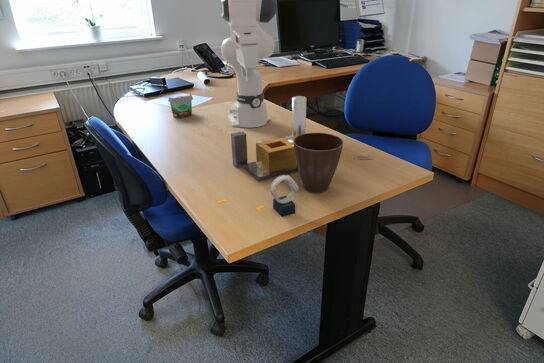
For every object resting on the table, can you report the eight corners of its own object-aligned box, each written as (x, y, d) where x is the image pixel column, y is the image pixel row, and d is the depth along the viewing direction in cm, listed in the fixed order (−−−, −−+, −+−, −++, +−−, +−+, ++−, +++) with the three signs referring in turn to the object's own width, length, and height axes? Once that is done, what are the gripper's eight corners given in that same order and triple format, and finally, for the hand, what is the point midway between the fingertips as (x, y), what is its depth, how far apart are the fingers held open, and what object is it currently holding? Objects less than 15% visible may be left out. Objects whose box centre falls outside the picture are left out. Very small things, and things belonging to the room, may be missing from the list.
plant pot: (317, 173, 135) (319, 129, 127) (349, 189, 124) (353, 142, 117) (283, 185, 127) (283, 139, 120) (314, 204, 116) (316, 154, 109)
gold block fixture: (238, 163, 143) (234, 98, 132) (295, 150, 153) (296, 89, 142) (259, 181, 130) (256, 111, 119) (320, 165, 140) (323, 99, 129)
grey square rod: (232, 164, 142) (230, 133, 136) (244, 162, 144) (242, 131, 138) (236, 168, 139) (234, 136, 134) (247, 165, 141) (246, 133, 136)
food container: (175, 120, 188) (172, 100, 183) (170, 117, 192) (167, 97, 188) (198, 115, 194) (196, 95, 190) (193, 112, 199) (191, 93, 194)
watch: (301, 211, 113) (301, 177, 108) (276, 218, 109) (275, 184, 104) (291, 202, 117) (292, 169, 112) (267, 209, 114) (266, 175, 109)
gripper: (230, 33, 134) (233, 74, 140) (239, 39, 116) (242, 86, 122) (248, 32, 135) (250, 73, 141) (260, 38, 117) (262, 84, 123)
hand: (247, 79), depth 132 cm, fingers open, 8 cm apart
